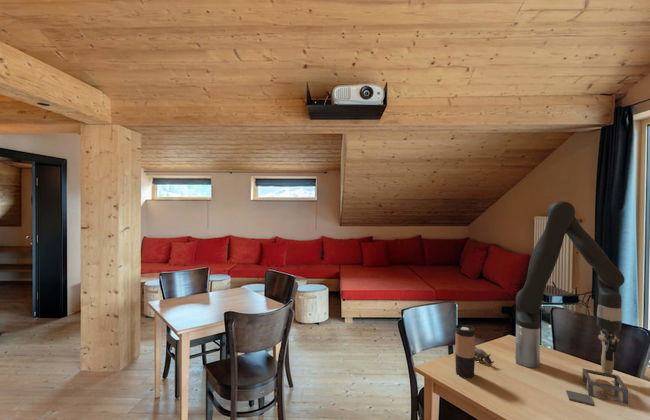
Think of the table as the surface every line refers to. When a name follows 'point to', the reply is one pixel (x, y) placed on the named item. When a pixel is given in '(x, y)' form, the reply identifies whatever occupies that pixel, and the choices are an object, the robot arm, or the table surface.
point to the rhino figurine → (482, 355)
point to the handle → (606, 365)
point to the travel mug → (465, 351)
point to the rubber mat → (579, 397)
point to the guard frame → (605, 394)
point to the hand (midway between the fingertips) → (607, 357)
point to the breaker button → (603, 383)
